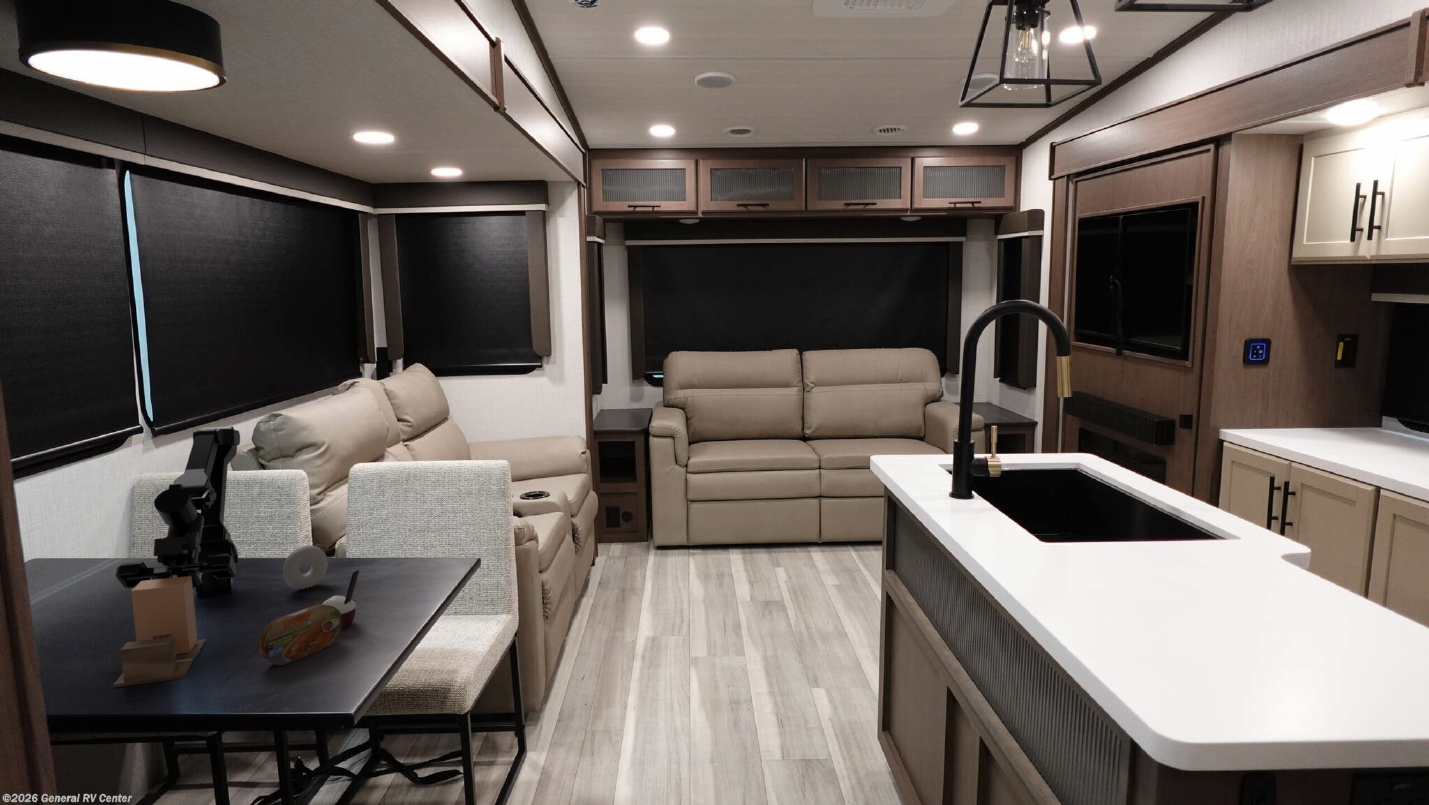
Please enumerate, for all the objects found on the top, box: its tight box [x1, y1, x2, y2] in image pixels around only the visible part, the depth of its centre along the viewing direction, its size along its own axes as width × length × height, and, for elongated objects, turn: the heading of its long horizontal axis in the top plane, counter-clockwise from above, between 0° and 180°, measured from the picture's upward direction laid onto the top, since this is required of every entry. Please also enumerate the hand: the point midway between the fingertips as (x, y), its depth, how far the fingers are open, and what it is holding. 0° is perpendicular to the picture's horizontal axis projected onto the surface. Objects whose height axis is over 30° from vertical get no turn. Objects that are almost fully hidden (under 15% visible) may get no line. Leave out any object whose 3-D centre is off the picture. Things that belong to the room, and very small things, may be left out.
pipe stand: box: [113, 637, 207, 688], centre depth 140 cm, size 15×10×7 cm, turn 20°
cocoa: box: [321, 569, 360, 629], centre depth 156 cm, size 10×6×12 cm, turn 54°
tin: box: [258, 604, 343, 666], centre depth 144 cm, size 15×3×8 cm, turn 148°
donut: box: [282, 544, 329, 590], centre depth 176 cm, size 10×4×10 cm, turn 147°
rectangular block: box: [130, 576, 199, 654], centre depth 143 cm, size 5×8×13 cm, turn 110°
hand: (171, 611), depth 146 cm, fingers closed
